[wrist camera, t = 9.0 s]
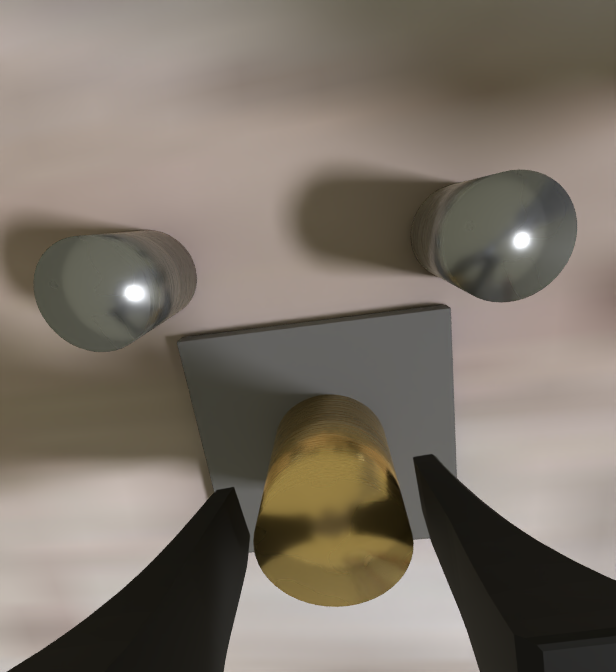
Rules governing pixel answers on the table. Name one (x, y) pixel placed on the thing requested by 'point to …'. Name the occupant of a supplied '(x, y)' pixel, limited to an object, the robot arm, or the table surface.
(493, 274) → the spacer posts
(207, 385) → the mat
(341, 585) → the brass round stock
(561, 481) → the table surface
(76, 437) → the table surface
